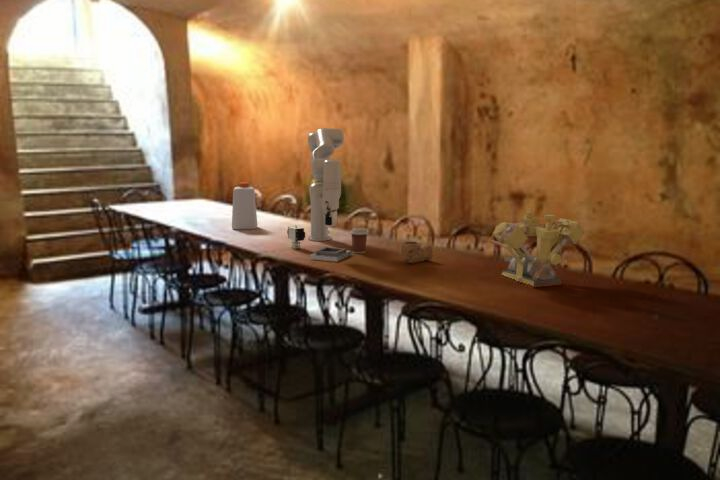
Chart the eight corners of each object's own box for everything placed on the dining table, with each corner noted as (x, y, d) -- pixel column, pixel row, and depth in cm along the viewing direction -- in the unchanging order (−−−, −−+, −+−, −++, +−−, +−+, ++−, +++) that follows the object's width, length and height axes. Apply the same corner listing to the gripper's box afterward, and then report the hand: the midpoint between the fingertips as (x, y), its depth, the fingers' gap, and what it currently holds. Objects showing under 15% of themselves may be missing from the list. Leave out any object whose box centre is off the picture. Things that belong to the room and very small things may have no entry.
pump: (328, 224, 298) (328, 208, 296) (338, 225, 296) (338, 208, 294) (323, 226, 293) (323, 209, 291) (334, 227, 291) (334, 210, 289)
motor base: (325, 252, 308) (325, 245, 307) (351, 254, 303) (351, 247, 302) (309, 259, 291) (309, 252, 290) (337, 261, 286) (337, 254, 286)
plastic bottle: (233, 226, 385) (232, 181, 380) (257, 226, 387) (257, 181, 382) (231, 230, 370) (229, 183, 365) (256, 230, 372) (255, 183, 367)
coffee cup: (356, 249, 316) (357, 226, 314) (371, 251, 311) (371, 228, 309) (346, 252, 309) (346, 228, 306) (361, 254, 303) (361, 230, 301)
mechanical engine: (521, 297, 230) (526, 217, 225) (467, 275, 263) (470, 205, 258) (600, 287, 246) (606, 213, 240) (539, 268, 279) (543, 202, 273)
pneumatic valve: (297, 250, 311) (297, 227, 309) (287, 246, 321) (286, 224, 319) (306, 249, 314) (306, 226, 312) (296, 245, 324) (296, 223, 322)
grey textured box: (435, 261, 290) (436, 240, 288) (411, 266, 279) (412, 244, 277) (421, 258, 296) (421, 238, 295) (397, 263, 286) (398, 242, 284)
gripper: (331, 184, 300) (331, 221, 303) (316, 187, 284) (316, 226, 287) (345, 185, 297) (345, 222, 301) (331, 188, 282) (331, 227, 285)
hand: (331, 223), depth 294 cm, fingers closed on pump, 5 cm apart
